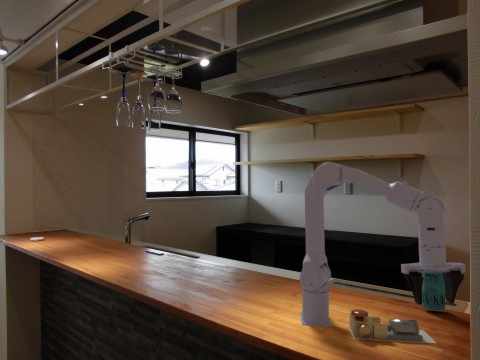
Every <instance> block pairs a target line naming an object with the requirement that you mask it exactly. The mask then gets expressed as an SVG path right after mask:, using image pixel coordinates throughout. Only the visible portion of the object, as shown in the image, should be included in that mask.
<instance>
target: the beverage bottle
mask: <svg viewBox="0 0 480 360" xmlns="http://www.w3.org/2000/svg"><path fill="white" fill-rule="evenodd" d="M421 277H423V278H424V279H423V284H422V305H421V306H422V307H423V308H424V309H427V310H430V311H438V312H441V311H445V309H446V306H447V301H446V296H445V283H444V278H443V274H442V272H432V273H421Z"/></svg>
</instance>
